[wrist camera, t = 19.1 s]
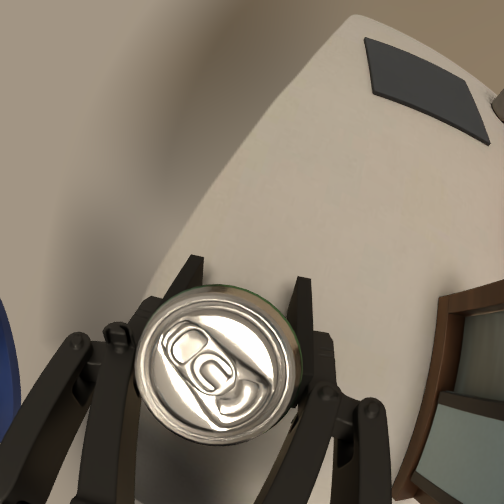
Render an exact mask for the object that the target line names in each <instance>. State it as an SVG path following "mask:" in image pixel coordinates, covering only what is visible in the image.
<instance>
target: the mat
mask: <svg viewBox="0 0 504 504" xmlns="http://www.w3.org/2000/svg"><path fill="white" fill-rule="evenodd" d="M364 42H365V47H366V52H367V57H368V63H369V69H370V76H371V83H372V90H373V94H375V95H378V96H381V97H384V98H387V99H390V100H393V101H395V102H398V103H401V104H403V105H406V106H408V107H411V108H413V109H416V110H418V111H421V112H423V113H425V114H428V115H430V116H432V117H434V118H437V119H439V120H441V121H443V122H445V123H447V124H449V125H451V126H453V127H455V128H457V129H459V130H461V131H463V132H465V133H467V134H469V135H470V136H472V137H474V138H476V139H478V140H479V141H481V142H483V143H484V144H486V145H488V146H489V145H490V144H491V143H490V140H489V137H488V134H487V132H486V129H485V126H484V124H483V121H482V118H481V116H480V113H479V111H478V109H477V106H476V104H475V102H474V99H473V97H472V95H471V93H470V91H469V88H468V86H467V84H466V82H465V81H464V80H463V79H461V78H459V77H457V76H456V75H454V74H452V73H450V72H448V71H446V70H444V69H442V68H441V67H439V66H437V65H434V64H432V63H430V62H428V61H426V60H424V59H422V58H420V57H417V56H415V55H413V54H410V53H408V52H406V51H403V50H401V49H398V48H395V47H393V46H390V45H387V44H385V43H382V42H379V41H376V40H373V39H370V38H367V37H365V38H364Z"/></svg>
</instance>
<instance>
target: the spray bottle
mask: <svg viewBox="0 0 504 504" xmlns="http://www.w3.org/2000/svg"><path fill="white" fill-rule="evenodd" d="M492 107H493V109H494V111H495V113H496V114H497V116H498V117H499V118H500V119H501V120H502V121H503V122H504V89H503V90H502V91H501V93H500V94H499V95H498V96H497V97H496V98H495V100H494V101H493V102H492Z"/></svg>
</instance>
